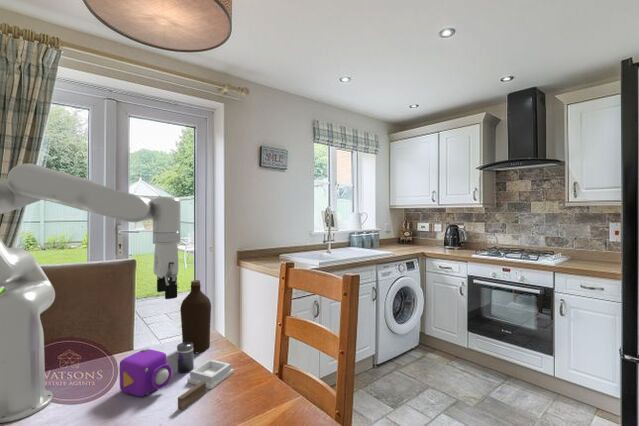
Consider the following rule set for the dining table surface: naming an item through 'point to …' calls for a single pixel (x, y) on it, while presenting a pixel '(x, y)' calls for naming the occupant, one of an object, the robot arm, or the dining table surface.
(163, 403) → the dining table surface
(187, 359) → the lens
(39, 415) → the dining table surface
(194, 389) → the rail
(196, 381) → the tray
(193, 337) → the olive oil
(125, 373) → the toy camera
